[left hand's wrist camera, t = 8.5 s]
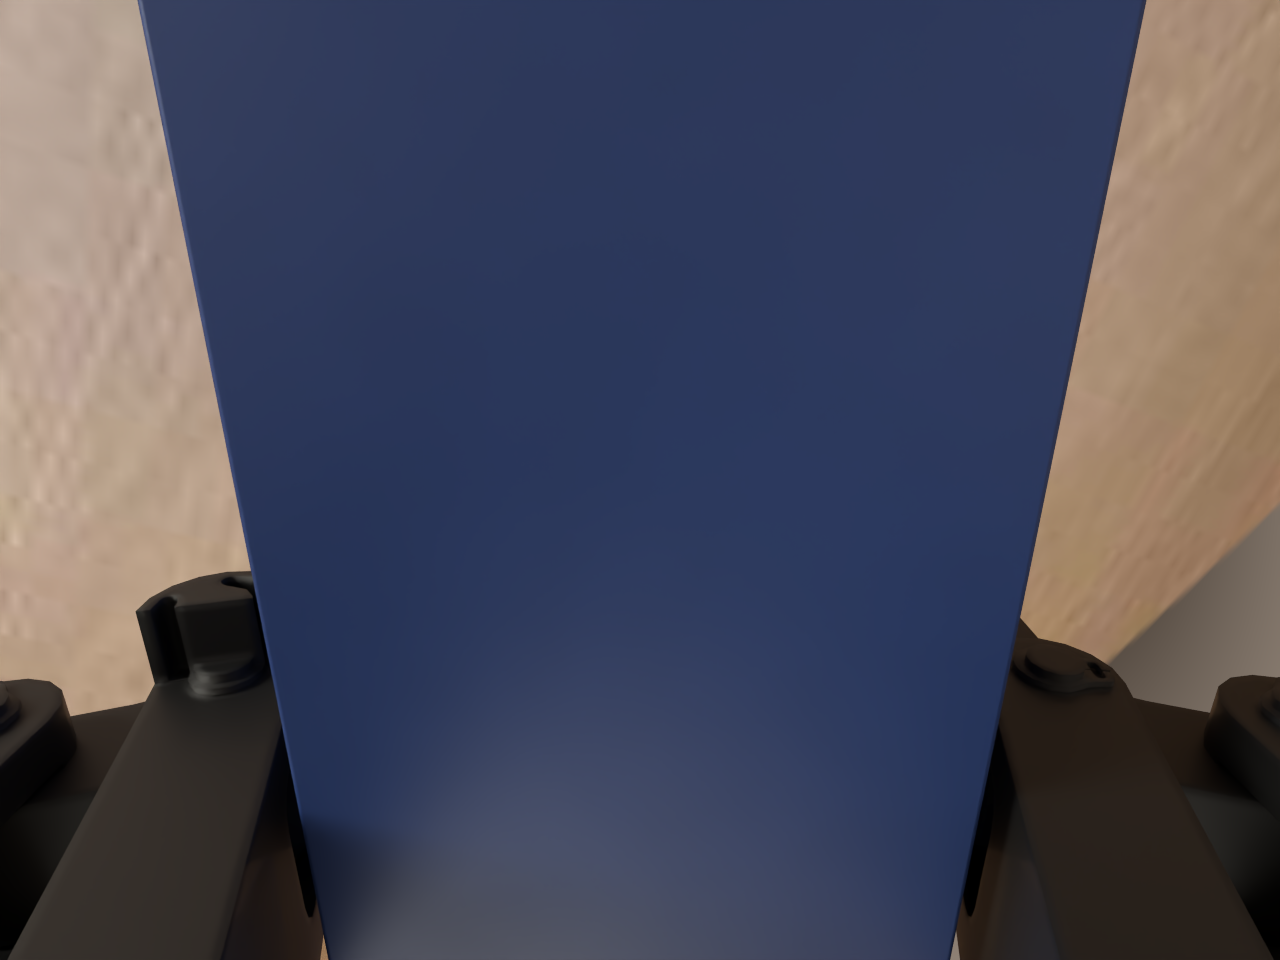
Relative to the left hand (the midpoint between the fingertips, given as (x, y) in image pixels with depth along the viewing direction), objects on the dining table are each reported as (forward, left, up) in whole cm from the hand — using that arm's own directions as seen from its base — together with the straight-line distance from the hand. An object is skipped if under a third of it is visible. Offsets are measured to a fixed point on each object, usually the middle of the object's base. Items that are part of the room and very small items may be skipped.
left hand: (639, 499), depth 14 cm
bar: (+5, +5, -1) cm, 8 cm away
